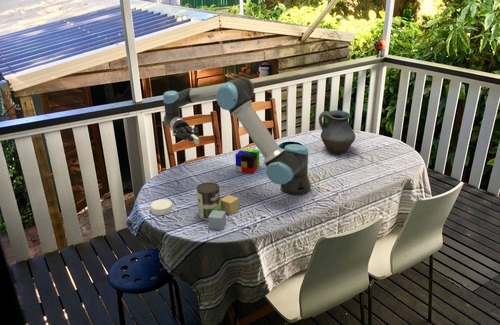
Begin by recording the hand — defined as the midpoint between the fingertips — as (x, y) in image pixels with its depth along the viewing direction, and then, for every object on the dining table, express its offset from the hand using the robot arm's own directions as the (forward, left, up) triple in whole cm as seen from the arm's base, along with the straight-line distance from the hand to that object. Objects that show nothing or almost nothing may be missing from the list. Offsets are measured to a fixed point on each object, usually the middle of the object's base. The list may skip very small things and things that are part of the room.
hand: (197, 141), depth 209 cm
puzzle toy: (-4, -39, -30) cm, 50 cm away
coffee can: (-12, +11, -30) cm, 34 cm away
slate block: (-20, +18, -30) cm, 41 cm away
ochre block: (-18, +4, -30) cm, 35 cm away
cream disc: (+11, +18, -30) cm, 37 cm away
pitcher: (-40, -83, -30) cm, 97 cm away
